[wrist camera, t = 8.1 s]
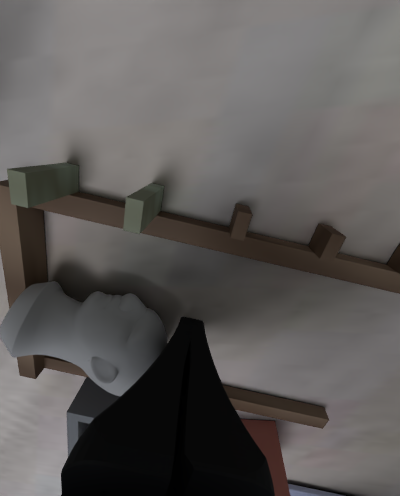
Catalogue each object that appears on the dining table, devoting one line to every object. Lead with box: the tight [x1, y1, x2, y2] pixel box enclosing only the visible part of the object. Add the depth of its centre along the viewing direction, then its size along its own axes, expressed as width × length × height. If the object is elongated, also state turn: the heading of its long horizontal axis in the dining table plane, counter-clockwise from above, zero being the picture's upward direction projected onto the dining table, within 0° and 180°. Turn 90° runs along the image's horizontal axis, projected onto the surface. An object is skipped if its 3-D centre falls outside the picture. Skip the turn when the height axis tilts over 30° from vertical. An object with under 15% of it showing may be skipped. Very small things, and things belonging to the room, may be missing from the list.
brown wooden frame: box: [0, 163, 400, 429], centre depth 12 cm, size 13×20×3 cm, turn 77°
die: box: [241, 419, 290, 496], centre depth 16 cm, size 4×4×4 cm
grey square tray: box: [67, 377, 120, 457], centre depth 17 cm, size 7×7×2 cm
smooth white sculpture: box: [0, 281, 167, 396], centre depth 12 cm, size 4×8×5 cm
